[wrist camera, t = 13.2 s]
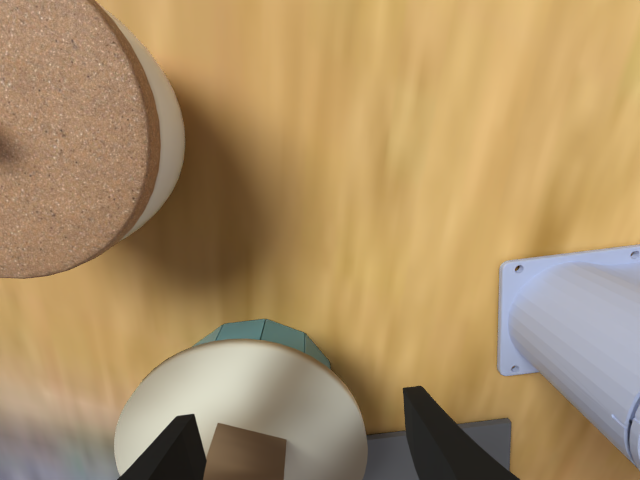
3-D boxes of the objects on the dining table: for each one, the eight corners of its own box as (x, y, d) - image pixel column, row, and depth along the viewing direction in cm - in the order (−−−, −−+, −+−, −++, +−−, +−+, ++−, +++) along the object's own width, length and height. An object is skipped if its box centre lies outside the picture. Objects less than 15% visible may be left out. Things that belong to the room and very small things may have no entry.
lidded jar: (192, 250, 20) (97, 335, 11) (1, 200, 19) (-278, 249, 10) (232, 59, 18) (150, -35, 8) (13, -12, 16) (-349, -207, 7)
